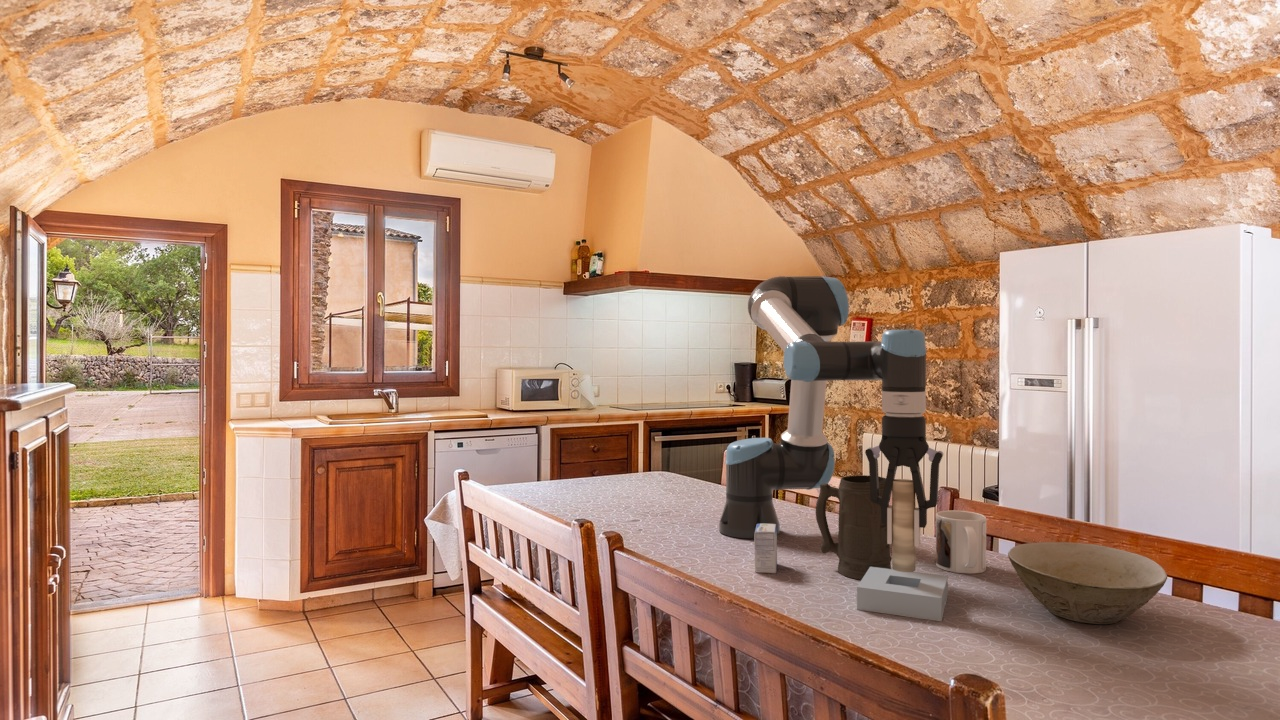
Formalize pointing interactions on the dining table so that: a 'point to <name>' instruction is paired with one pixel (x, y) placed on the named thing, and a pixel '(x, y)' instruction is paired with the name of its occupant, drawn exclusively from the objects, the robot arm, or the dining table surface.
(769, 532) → the medicine box
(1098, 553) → the bowl
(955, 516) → the mug
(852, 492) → the beer stein
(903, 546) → the beech peg
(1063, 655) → the dining table surface
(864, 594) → the socket block
